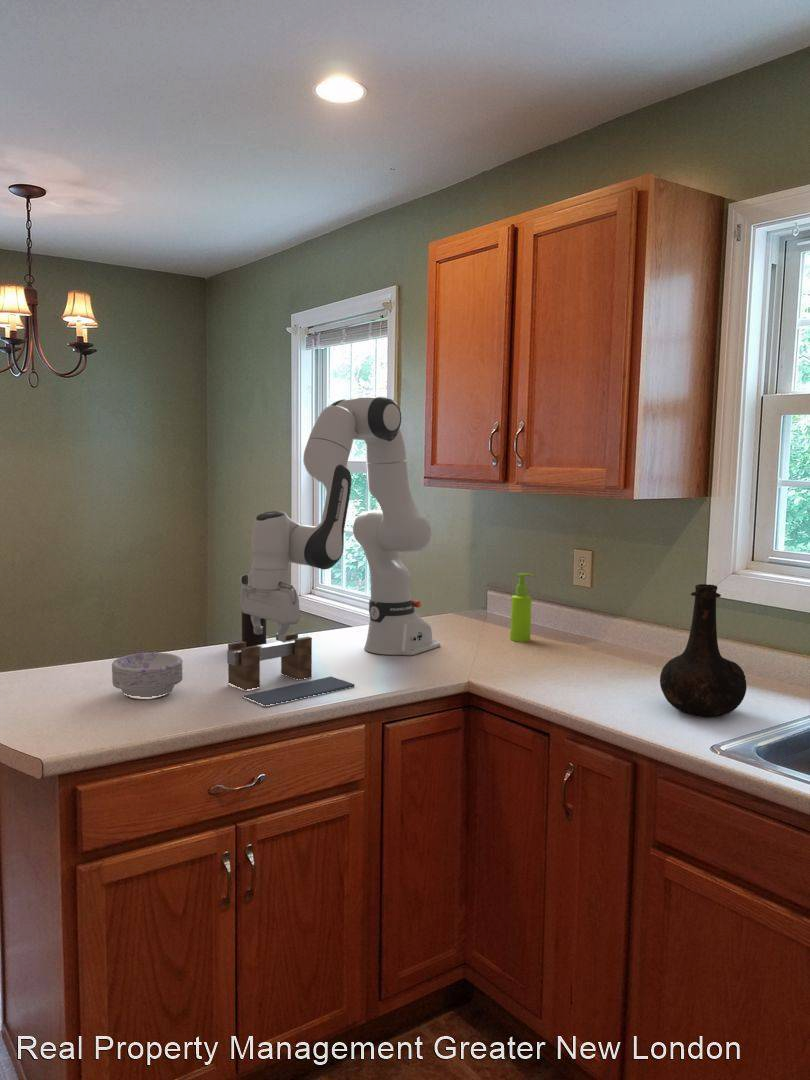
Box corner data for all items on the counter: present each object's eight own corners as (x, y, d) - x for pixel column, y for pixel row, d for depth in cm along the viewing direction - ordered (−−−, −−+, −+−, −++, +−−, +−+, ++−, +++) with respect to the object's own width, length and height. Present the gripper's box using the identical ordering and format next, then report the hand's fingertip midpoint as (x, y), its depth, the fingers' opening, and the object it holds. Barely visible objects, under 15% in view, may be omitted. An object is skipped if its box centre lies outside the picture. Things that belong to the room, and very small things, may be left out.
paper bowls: (155, 707, 179) (154, 671, 178) (97, 699, 184) (96, 664, 183) (196, 689, 193) (195, 655, 192) (141, 682, 198) (141, 649, 197)
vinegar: (261, 651, 230) (260, 579, 228) (238, 649, 232) (237, 578, 230) (269, 645, 237) (269, 576, 235) (247, 644, 238) (247, 575, 236)
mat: (331, 678, 203) (331, 676, 203) (354, 686, 197) (354, 684, 197) (242, 698, 186) (242, 695, 186) (265, 707, 180) (265, 704, 180)
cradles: (294, 671, 209) (294, 632, 208) (311, 677, 204) (311, 637, 203) (228, 685, 197) (228, 643, 195) (245, 691, 191) (244, 649, 190)
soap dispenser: (534, 642, 247) (537, 575, 245) (511, 641, 247) (513, 574, 245) (532, 637, 253) (534, 572, 250) (509, 637, 253) (511, 572, 251)
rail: (304, 648, 208) (304, 637, 208) (311, 651, 206) (311, 639, 206) (227, 663, 193) (227, 650, 193) (234, 665, 191) (234, 652, 191)
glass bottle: (727, 731, 169) (735, 595, 166) (644, 712, 181) (650, 585, 178) (756, 711, 183) (764, 585, 180) (677, 695, 194) (683, 576, 192)
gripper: (307, 584, 192) (305, 643, 194) (257, 574, 207) (257, 628, 208) (284, 586, 188) (283, 646, 189) (235, 575, 203) (235, 631, 204)
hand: (269, 637), depth 199 cm, fingers open, 8 cm apart
